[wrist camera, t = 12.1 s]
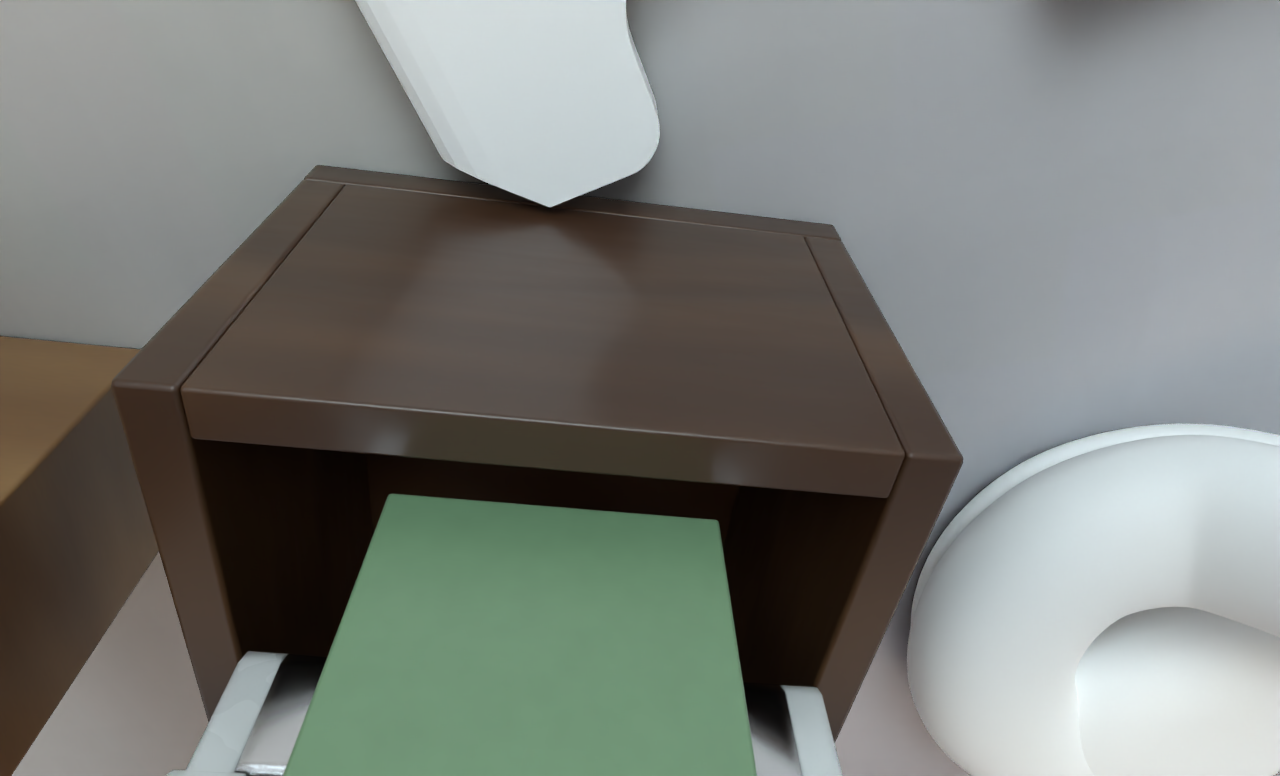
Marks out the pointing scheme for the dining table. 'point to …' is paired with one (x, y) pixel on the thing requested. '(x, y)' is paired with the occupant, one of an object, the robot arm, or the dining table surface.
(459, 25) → the tray
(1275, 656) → the sculpture
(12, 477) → the stand
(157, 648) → the dining table surface
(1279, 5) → the dining table surface
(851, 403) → the chest
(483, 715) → the block
